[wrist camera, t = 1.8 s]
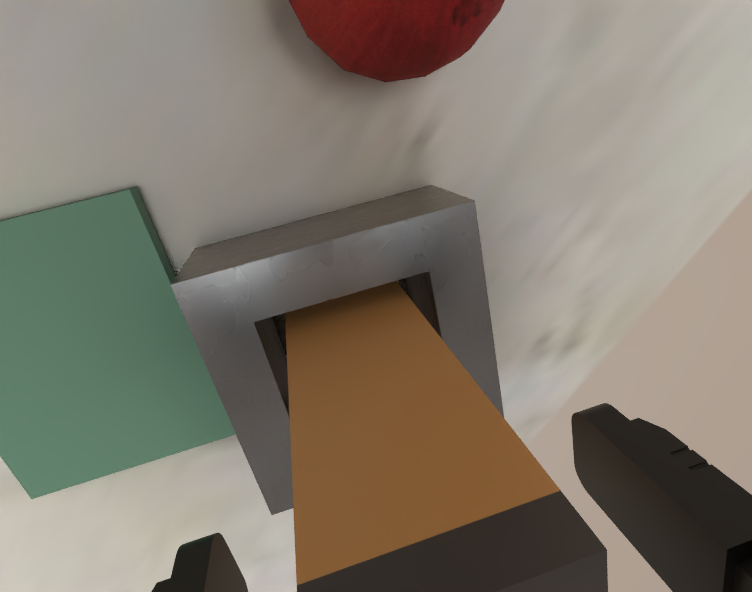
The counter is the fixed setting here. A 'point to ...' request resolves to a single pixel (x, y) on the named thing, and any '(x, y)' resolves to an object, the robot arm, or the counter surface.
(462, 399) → the plug
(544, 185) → the counter surface
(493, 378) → the gray square frame
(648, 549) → the robot arm
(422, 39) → the red onion
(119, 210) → the mat
